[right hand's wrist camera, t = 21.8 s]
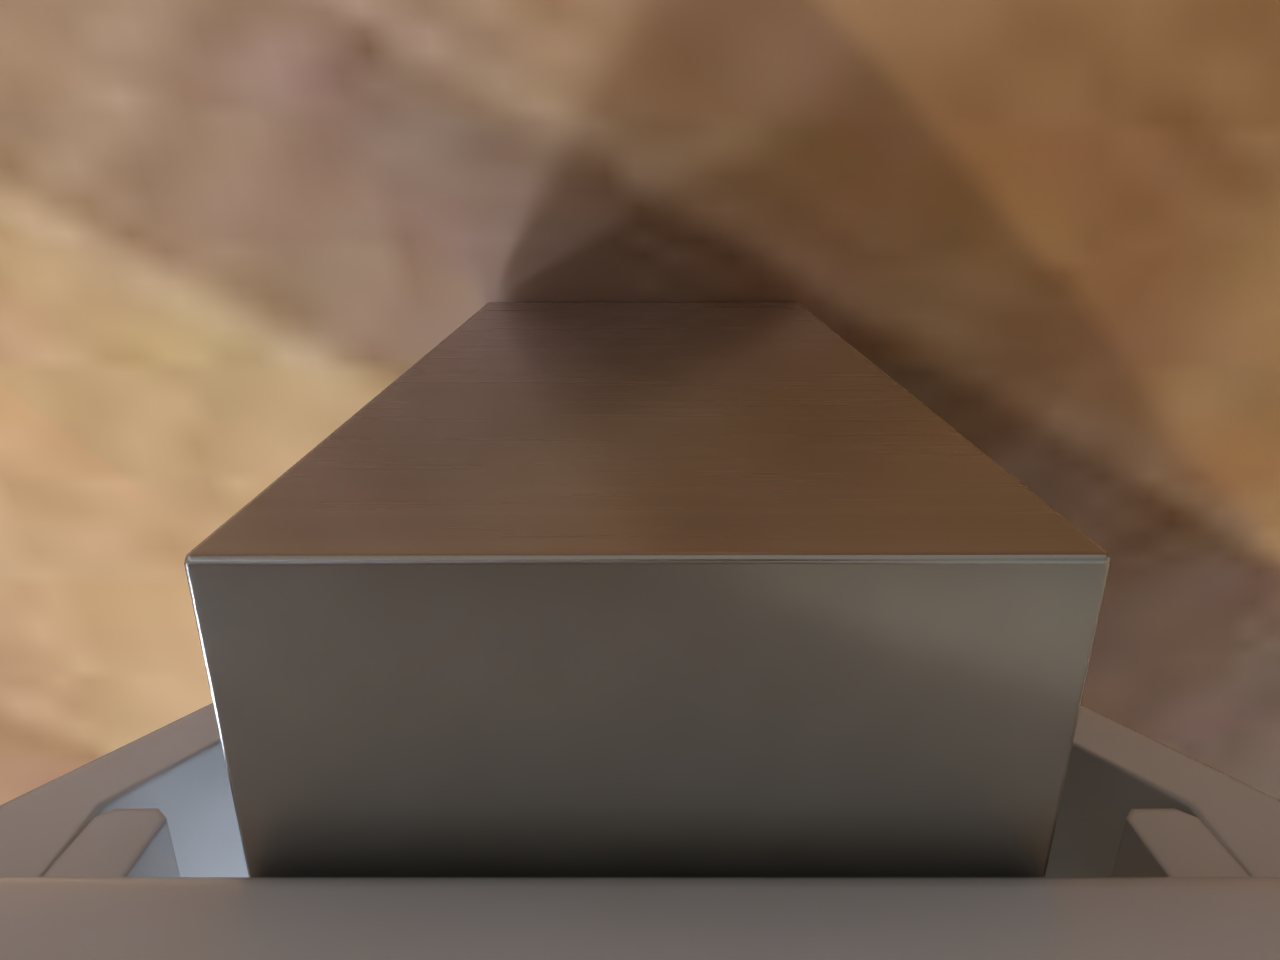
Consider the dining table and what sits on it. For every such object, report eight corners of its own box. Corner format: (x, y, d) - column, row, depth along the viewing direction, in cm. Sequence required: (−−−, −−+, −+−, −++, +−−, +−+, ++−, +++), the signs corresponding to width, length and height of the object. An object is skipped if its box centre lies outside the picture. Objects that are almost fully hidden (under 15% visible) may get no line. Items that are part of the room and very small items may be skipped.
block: (799, 301, 14) (1116, 553, 5) (773, 717, 16) (938, 1396, 7) (487, 301, 14) (178, 555, 5) (513, 718, 16) (352, 1397, 7)
